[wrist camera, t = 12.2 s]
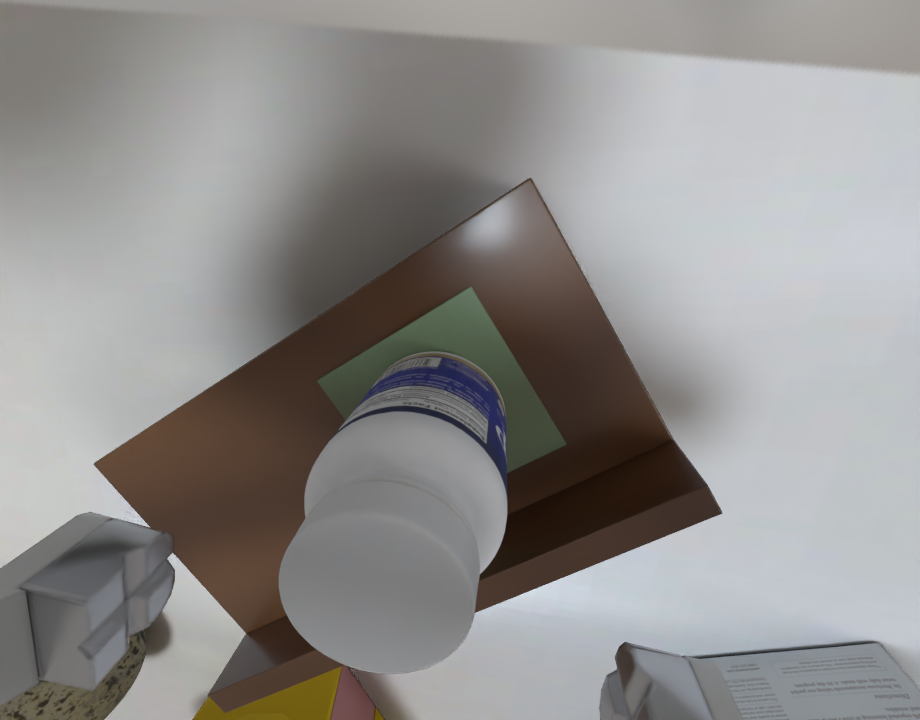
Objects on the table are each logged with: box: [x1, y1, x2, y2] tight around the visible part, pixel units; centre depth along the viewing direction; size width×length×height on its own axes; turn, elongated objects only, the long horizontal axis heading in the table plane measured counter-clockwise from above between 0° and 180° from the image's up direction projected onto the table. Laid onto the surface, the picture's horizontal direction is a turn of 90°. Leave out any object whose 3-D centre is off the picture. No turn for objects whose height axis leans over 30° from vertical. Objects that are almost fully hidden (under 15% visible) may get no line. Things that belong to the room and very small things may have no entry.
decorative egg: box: [0, 630, 146, 720], centre depth 26 cm, size 6×6×10 cm
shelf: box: [94, 178, 722, 713], centre depth 20 cm, size 12×22×9 cm, turn 122°
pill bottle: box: [279, 351, 508, 674], centre depth 13 cm, size 5×5×9 cm
